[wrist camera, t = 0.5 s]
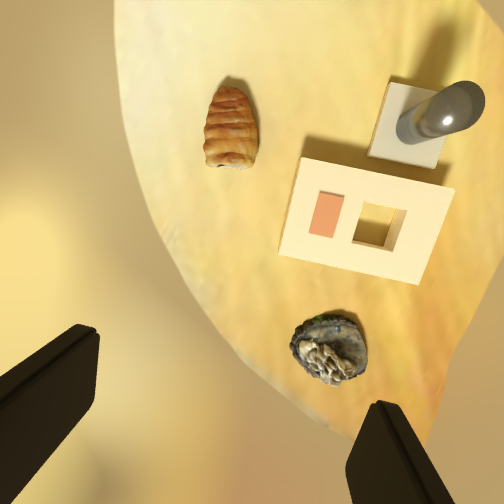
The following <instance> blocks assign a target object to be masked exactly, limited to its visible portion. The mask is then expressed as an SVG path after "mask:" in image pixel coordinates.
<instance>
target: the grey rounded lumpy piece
mask: <svg viewBox="0 0 504 504" xmlns="http://www.w3.org/2000/svg"><path fill="white" fill-rule="evenodd" d="M289 347H290V349H291V350H292V351H293V356H294V358H295V359H296V360H297V361H298V362H299V364H300V365H301V366H302V367H304V369H305V370H306V371H307V373H309V374H311V375H312V376H313V377H314V378H317V377H318V378H320V379H321V382H322V383H324V384H331V385H332V386H334V387H336V386H339V385H340V384H341V382H342V381H347V380H349V379H352V378H354V377H357V374H358V375H361V374H362V373H364V372H365V369H366V366H367V361H368V360H367V359H368V358H367V353H366V347H365V343H364V340H363V338H362V336H361V333H360V331H359V329H358V328H357V325H356V323H354V322H353V321H351V320H350V319H347V318H345V317H343V316H342V315H326V314H325V315H320V316H316V317H314V318H313V319H311V320H309V321H305V322H304V323H303V324H302V325H300V326H299V327H297V328H296V329H295V334H294V335H293V337H292V341H291V343H290V345H289Z"/></svg>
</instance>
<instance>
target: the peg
mask: <svg viewBox="0 0 504 504" xmlns="http://www.w3.org/2000/svg"><path fill="white" fill-rule="evenodd" d="M484 107H485V96H484V93H483V91H482V89H481V88H480V86H478V85H477V84H476V83H474V82H471V81H460V82H456V83H454V84H452V85H450V86H449V87H447V88H445V89H443V90H442V91H440V92H438V93H437V94H435V95H433V96H431V97H430V98H428V99H426V100H424V101H423V102H421V103H419V104H417V105H416V106H414V107H412V108H410V109H409V110H407V111H405V112H404V113H403V114H402V115H401V116H400V117H399V119H398V121H397V124H396V134H397V137H398V139H399V140H400V141H401V142H403V143H404V144H407V145H415V144H418V143H422V142H425V141H428V140H432V139H435V138H438V137H442V136H445V135H448V134H452V133H455V132H458V131H462V130H465V129H467V128H469V127H471V126H472V125H473V124H474V123H476V122H477V120H478V119H479V118H480V116H481V115H482V113H483V110H484Z"/></svg>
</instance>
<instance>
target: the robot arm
mask: <svg viewBox="0 0 504 504" xmlns="http://www.w3.org/2000/svg"><path fill="white" fill-rule="evenodd" d="M99 342H100V335H99V334H98V333H96V329H95V328H93V327H89V326H85V325H81V324H76V325H74V326H72V327H71V328H69V329H68V330H67V331H65V332H64V333H62V334H61V335H59V336H58V337H57V338H55V339H54V340H52V341H51V342H49V343H48V344H47V345H45V346H44V347H42V348H41V349H39V350H38V351H36V352H35V353H33V354H32V355H31V356H29V357H28V358H26V359H25V360H24V361H22V362H21V363H19V364H18V365H16V366H15V367H13V368H12V369H10V370H9V371H8V372H6V373H5V374H3V375H2V376H0V504H11V503H12V502H13V500H14V499H15V498H16V497H17V496H18V494H19V493H20V492H21V491H22V490H23V488H24V487H25V486H26V485H27V484H28V482H29V481H30V480H31V479H32V477H33V476H34V475H35V474H36V473H37V471H38V470H39V469H40V468H41V467H42V465H43V464H44V463H45V461H47V459H48V458H49V457H50V455H52V453H53V452H54V451H55V450H56V449H57V447H58V446H59V445H60V444H61V442H62V441H63V440H64V439H65V438H66V437H67V435H68V434H69V433H70V432H71V430H72V429H73V428H74V427H75V426H76V424H77V423H78V422H79V421H80V420H81V418H82V417H83V416H84V415H85V414H86V412H87V411H88V410H89V408H90V407H91V405H92V403H93V401H94V397H95V387H96V375H97V364H98V353H99ZM345 468H346V469H345V470H346V471H345V472H346V478H347V482H348V486H349V491H350V495H351V499H352V503H353V504H455V503H454V501H453V499H452V498H451V496H450V494H449V492H448V490H447V489H446V487H445V485H444V484H443V482H442V480H441V478H440V476H439V475H438V473H437V471H436V469H435V468H434V466H433V464H432V462H431V461H430V459H429V457H428V455H427V454H426V452H425V450H424V448H423V447H422V445H421V443H420V441H419V439H418V438H417V436H416V434H415V432H414V431H413V429H412V427H411V425H410V424H409V422H408V420H407V418H406V417H405V415H404V413H403V411H402V410H401V408H400V407H399V405H397V404H394V403H390V402H386V401H382V400H378V401H377V402H376V403H375V404H374V403H372V404H371V406H370V408H369V410H368V412H367V415H366V417H365V419H364V422H363V424H362V426H361V429H360V431H359V434H358V436H357V438H356V441H355V443H354V445H353V448H352V450H351V453H350V455H349V457H348V460H347V462H346V467H345Z"/></svg>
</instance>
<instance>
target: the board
mask: <svg viewBox="0 0 504 504" xmlns="http://www.w3.org/2000/svg"><path fill="white" fill-rule="evenodd" d="M455 191H456V189H453V188H448V187H443V186H438V185H434V184H429V183H424V182H419V181H414V180H410V179H405V178H400V177H395V176H390V175H386V174H381V173H376V172H371V171H366V170H362V169H357V168H352V167H347V166H342V165H338V164H333V163H328V162H323V161H319V160H314V159H309V158H304V157H301V158H300V160H299V163H298V168H297V172H296V176H295V180H294V184H293V189H292V193H291V197H290V201H289V205H288V210H287V214H286V218H285V222H284V226H283V231H282V235H281V239H280V243H279V247H278V254H279V255H284V256H288V257H293V258H297V259H302V260H307V261H311V262H316V263H320V264H325V265H329V266H334V267H338V268H343V269H347V270H352V271H357V272H361V273H366V274H370V275H375V276H379V277H384V278H388V279H393V280H397V281H402V282H407V283H411V284H416V285H419V282H420V280H421V277H422V275H423V272H424V270H425V267H426V265H427V262H428V259H429V257H430V254H431V252H432V249H433V247H434V244H435V242H436V239H437V237H438V234H439V231H440V229H441V226H442V224H443V221H444V219H445V216H446V214H447V211H448V208H449V206H450V203H451V201H452V198H453V196H454V193H455ZM364 202H368V203H373V204H378V205H383V206H387V207H392V208H396V211H395V213H394V216H393V219H392V222H391V225H390V228H389V231H388V234H387V237H386V240H385V243H384V246H383V247H382V246H378V245H373V244H368V243H364V242H359V241H355V240H352V239H353V235H354V232H355V229H356V226H357V222H358V219H359V216H360V213H361V210H362V206H363V203H364Z"/></svg>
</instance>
